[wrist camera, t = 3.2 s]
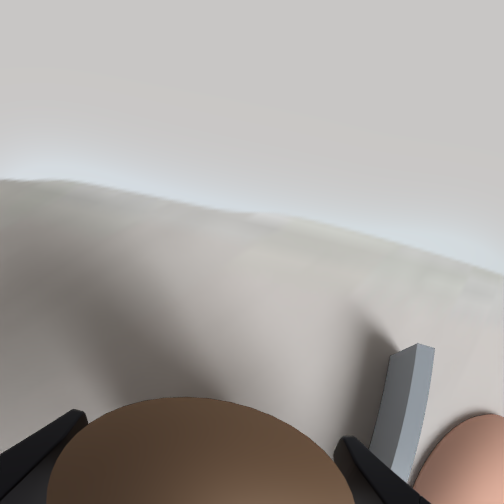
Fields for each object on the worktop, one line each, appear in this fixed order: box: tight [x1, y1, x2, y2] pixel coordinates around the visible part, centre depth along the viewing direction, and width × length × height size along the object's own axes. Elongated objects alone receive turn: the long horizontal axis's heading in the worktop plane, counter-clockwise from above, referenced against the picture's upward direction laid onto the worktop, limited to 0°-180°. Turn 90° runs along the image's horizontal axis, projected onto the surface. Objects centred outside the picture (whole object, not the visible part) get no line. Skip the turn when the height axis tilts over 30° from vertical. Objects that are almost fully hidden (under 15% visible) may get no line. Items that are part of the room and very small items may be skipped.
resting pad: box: [413, 414, 504, 504], centre depth 12 cm, size 11×11×1 cm
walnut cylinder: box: [46, 397, 355, 504], centre depth 8 cm, size 5×5×12 cm
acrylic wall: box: [369, 343, 435, 483], centre depth 12 cm, size 14×1×3 cm, turn 162°
